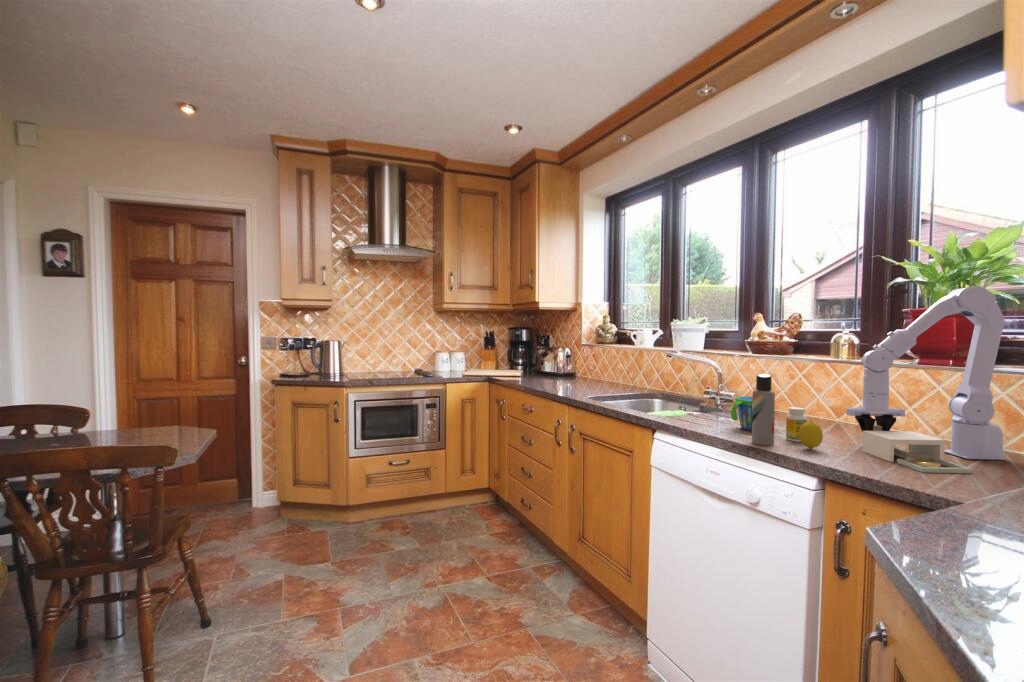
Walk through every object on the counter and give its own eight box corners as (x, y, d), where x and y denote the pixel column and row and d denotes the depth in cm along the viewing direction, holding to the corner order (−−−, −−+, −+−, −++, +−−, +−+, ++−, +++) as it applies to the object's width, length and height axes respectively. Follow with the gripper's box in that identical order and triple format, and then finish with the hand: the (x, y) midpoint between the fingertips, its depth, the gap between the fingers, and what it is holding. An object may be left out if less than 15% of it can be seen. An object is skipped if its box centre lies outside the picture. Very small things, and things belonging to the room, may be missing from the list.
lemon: (826, 452, 127) (826, 423, 126) (803, 451, 128) (804, 422, 127) (817, 447, 132) (817, 419, 132) (795, 446, 133) (796, 418, 133)
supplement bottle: (796, 437, 144) (797, 406, 144) (811, 441, 139) (812, 409, 138) (781, 438, 143) (782, 407, 142) (796, 442, 137) (796, 410, 137)
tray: (942, 463, 116) (942, 459, 116) (971, 473, 109) (971, 469, 109) (897, 462, 117) (897, 458, 117) (922, 472, 109) (922, 468, 109)
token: (929, 464, 117) (929, 459, 117) (946, 470, 112) (946, 465, 112) (908, 463, 117) (908, 458, 117) (923, 469, 112) (924, 464, 112)
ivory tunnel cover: (912, 452, 127) (912, 431, 127) (944, 462, 117) (944, 440, 117) (862, 451, 128) (862, 430, 128) (889, 461, 118) (889, 439, 118)
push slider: (858, 444, 135) (859, 424, 135) (878, 445, 135) (879, 424, 134) (906, 462, 117) (907, 438, 117) (930, 462, 117) (930, 438, 117)
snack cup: (741, 433, 150) (742, 401, 149) (721, 426, 160) (722, 396, 160) (785, 431, 152) (786, 400, 152) (763, 425, 162) (763, 395, 162)
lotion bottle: (773, 442, 138) (774, 374, 137) (774, 446, 133) (776, 375, 132) (751, 440, 140) (752, 373, 140) (752, 444, 135) (753, 374, 134)
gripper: (892, 391, 136) (891, 438, 136) (839, 391, 136) (838, 437, 137) (911, 395, 129) (910, 444, 129) (856, 394, 129) (855, 443, 130)
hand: (874, 441), depth 132 cm, fingers closed on push slider, 3 cm apart
